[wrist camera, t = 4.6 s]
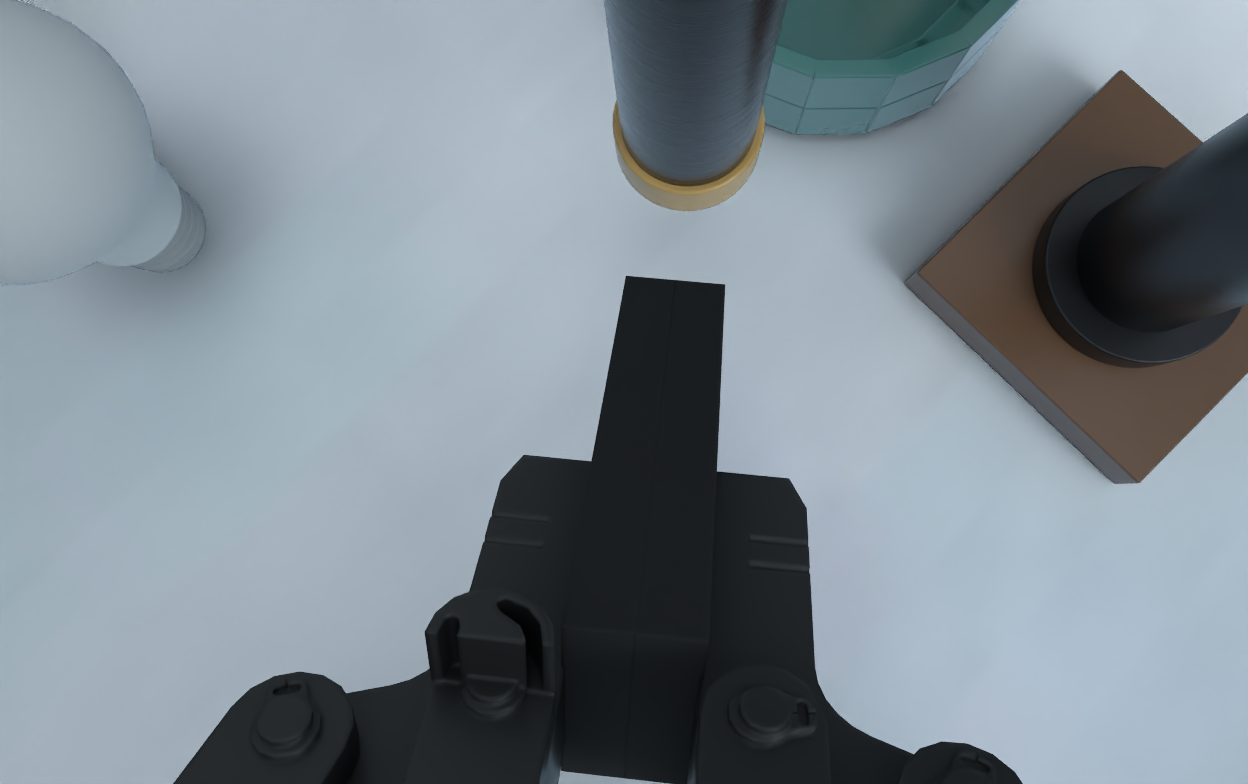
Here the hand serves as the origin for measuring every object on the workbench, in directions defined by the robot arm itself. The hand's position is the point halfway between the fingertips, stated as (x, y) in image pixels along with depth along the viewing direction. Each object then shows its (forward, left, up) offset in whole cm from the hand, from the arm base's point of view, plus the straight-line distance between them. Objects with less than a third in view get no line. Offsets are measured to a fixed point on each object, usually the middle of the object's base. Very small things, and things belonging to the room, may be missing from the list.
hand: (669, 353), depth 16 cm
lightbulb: (-14, -7, -13) cm, 20 cm away
